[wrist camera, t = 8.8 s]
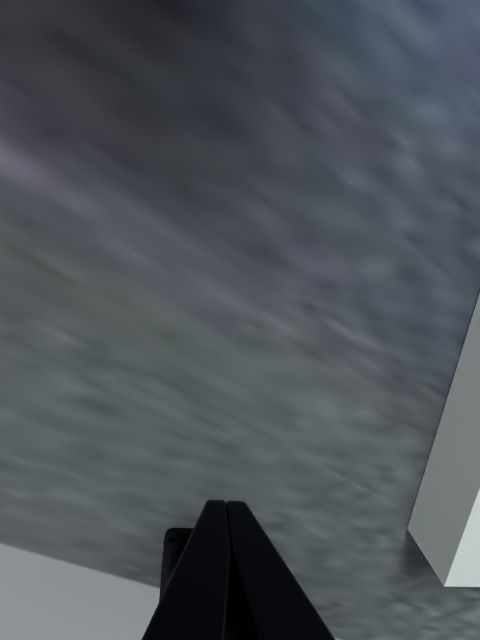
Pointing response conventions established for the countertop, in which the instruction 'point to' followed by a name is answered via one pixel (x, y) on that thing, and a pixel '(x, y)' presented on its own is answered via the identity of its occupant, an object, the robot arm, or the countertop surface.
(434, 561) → the keypad
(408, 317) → the countertop surface
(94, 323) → the countertop surface
